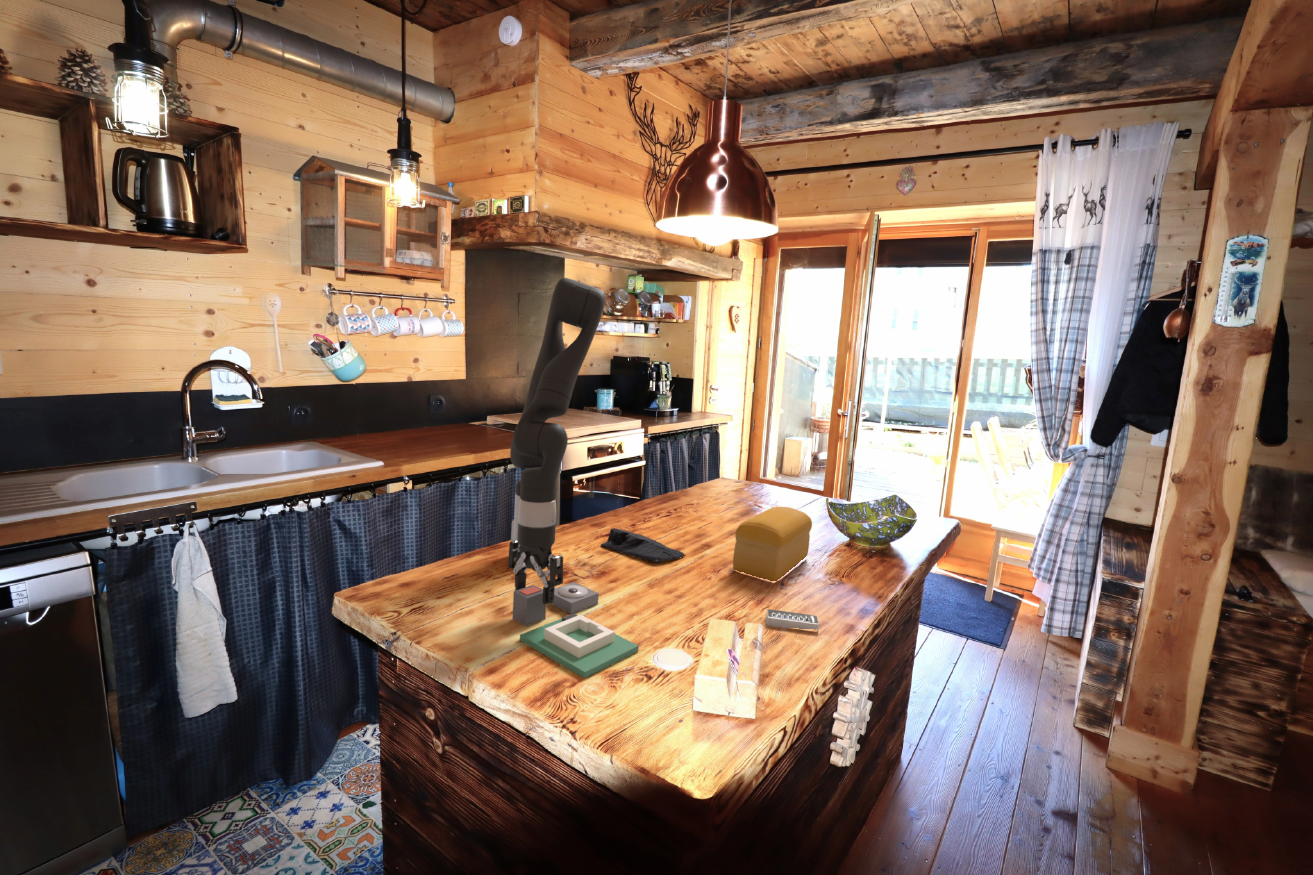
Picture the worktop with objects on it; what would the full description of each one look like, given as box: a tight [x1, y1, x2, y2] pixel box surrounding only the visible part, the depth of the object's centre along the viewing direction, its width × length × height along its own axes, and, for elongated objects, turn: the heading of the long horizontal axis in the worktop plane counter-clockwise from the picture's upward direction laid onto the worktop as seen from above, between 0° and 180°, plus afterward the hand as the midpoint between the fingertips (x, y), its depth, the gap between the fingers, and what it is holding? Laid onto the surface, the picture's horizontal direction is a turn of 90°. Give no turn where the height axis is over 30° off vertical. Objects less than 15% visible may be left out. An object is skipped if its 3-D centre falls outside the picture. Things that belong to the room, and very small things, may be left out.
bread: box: [732, 506, 813, 581], centre depth 170 cm, size 24×13×15 cm, turn 147°
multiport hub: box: [765, 608, 820, 631], centre depth 135 cm, size 4×11×2 cm, turn 82°
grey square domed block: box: [549, 581, 600, 615], centre depth 137 cm, size 8×8×3 cm
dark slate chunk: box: [600, 527, 685, 563], centre depth 174 cm, size 15×22×5 cm
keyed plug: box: [512, 584, 547, 627], centre depth 128 cm, size 4×6×6 cm
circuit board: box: [519, 613, 640, 679], centre depth 119 cm, size 18×14×3 cm
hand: (533, 596), depth 127 cm, fingers open, 8 cm apart
